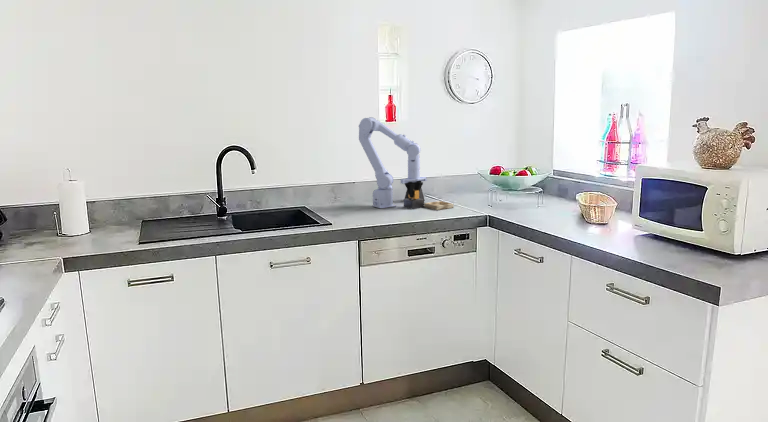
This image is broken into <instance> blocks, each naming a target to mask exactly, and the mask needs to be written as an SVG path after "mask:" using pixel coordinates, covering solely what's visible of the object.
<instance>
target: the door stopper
mask: <svg viewBox="0 0 768 422" xmlns="http://www.w3.org/2000/svg"><path fill="white" fill-rule="evenodd" d="M412 183H413V182H412ZM407 198H409V193H408V190H407V189H406V192H405V195H404V199H407ZM419 198H420V199H424V202H426V201H425V196H424V192H423V189H422V187H421V189H420V192H419ZM404 199H403V200H404Z"/></svg>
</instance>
